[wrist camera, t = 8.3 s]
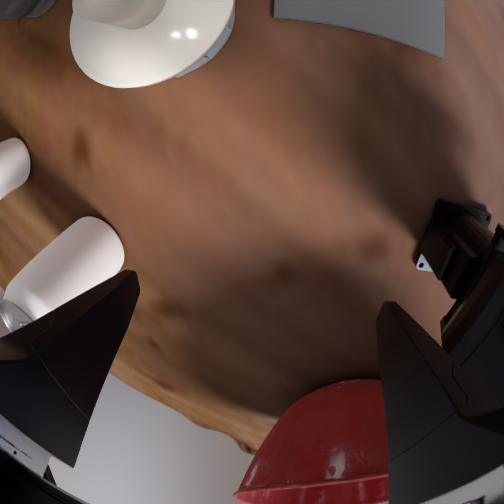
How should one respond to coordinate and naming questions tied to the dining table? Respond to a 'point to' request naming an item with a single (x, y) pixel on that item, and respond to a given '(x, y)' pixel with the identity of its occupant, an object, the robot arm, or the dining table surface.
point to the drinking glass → (13, 165)
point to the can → (62, 271)
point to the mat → (376, 19)
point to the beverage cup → (23, 8)
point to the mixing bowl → (324, 450)
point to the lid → (144, 37)
